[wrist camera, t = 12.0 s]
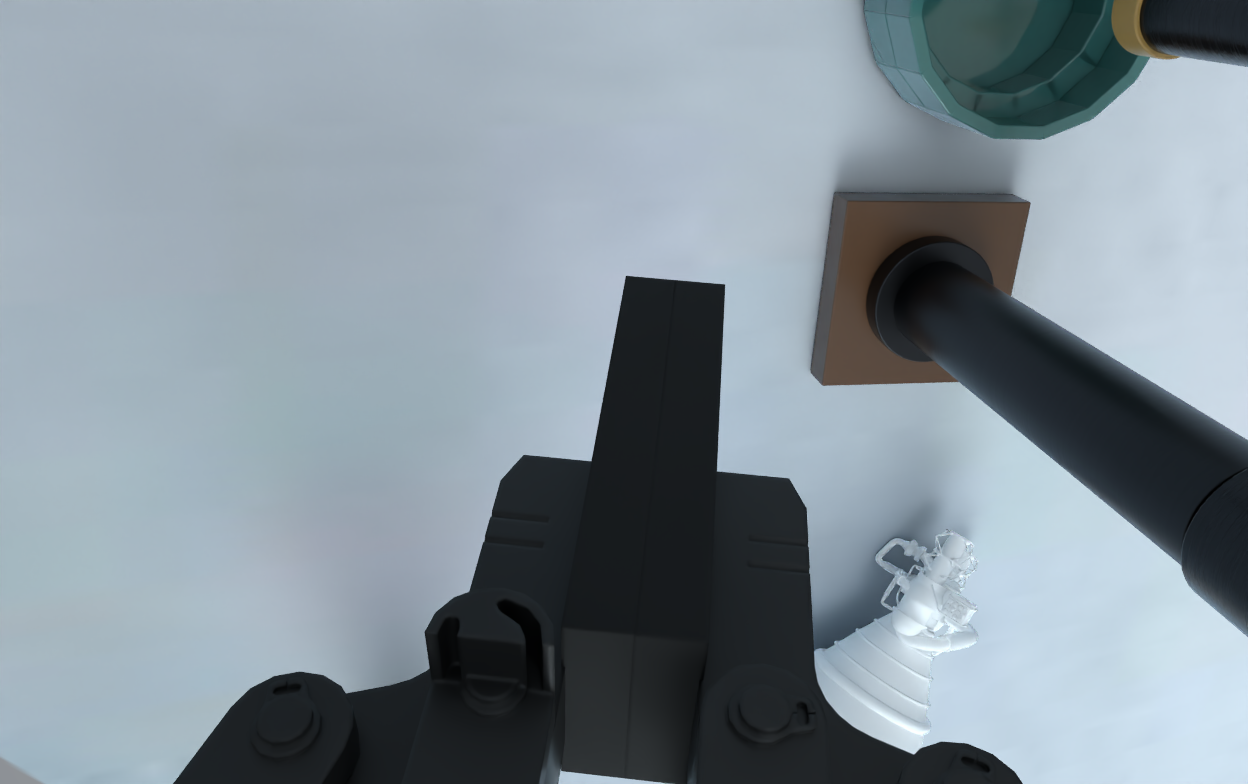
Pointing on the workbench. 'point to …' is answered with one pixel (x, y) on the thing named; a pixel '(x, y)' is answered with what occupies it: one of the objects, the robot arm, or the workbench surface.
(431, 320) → the workbench surface
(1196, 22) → the spout
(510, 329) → the workbench surface
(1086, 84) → the basin
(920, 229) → the black post
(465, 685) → the robot arm
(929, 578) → the rocket engine
